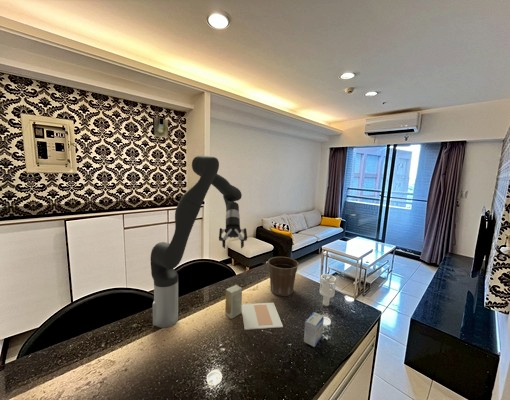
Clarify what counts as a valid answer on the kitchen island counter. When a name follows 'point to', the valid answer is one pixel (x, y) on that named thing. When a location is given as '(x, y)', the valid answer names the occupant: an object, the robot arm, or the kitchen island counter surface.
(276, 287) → the plant pot
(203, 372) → the kitchen island counter surface
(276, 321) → the mat
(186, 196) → the robot arm
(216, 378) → the kitchen island counter surface
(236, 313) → the skincare box
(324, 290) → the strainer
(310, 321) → the medicine box
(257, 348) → the kitchen island counter surface
